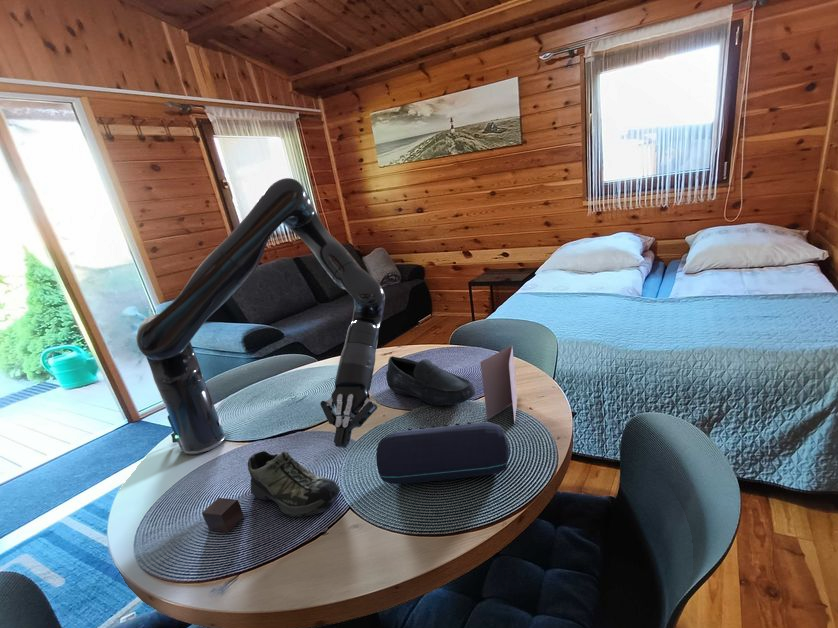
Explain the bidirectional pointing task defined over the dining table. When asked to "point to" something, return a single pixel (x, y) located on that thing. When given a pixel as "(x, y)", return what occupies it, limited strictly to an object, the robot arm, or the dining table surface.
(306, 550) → the dining table surface
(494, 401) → the greeting card
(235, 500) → the block
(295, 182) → the robot arm
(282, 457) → the hiking shoe
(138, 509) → the dining table surface
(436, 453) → the portable speaker
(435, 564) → the dining table surface
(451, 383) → the loafer
